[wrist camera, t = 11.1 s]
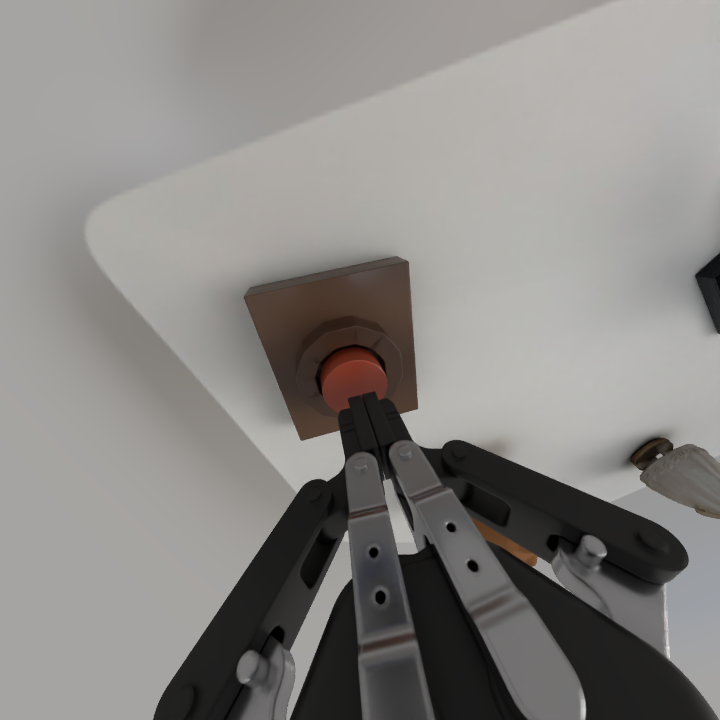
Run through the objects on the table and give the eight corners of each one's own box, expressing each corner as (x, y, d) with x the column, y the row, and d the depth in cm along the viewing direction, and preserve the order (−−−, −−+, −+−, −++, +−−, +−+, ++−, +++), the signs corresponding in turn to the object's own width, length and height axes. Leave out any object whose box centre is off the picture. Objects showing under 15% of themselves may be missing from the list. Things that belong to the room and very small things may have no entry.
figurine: (648, 430, 36) (845, 551, 23) (680, 429, 37) (880, 542, 25) (613, 471, 39) (766, 595, 26) (644, 468, 41) (801, 584, 28)
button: (313, 355, 16) (314, 370, 15) (376, 340, 16) (383, 352, 15) (328, 404, 18) (330, 422, 17) (383, 390, 19) (390, 405, 17)
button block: (249, 287, 17) (236, 306, 13) (397, 256, 18) (420, 265, 14) (300, 422, 23) (301, 459, 20) (408, 393, 24) (427, 424, 21)
